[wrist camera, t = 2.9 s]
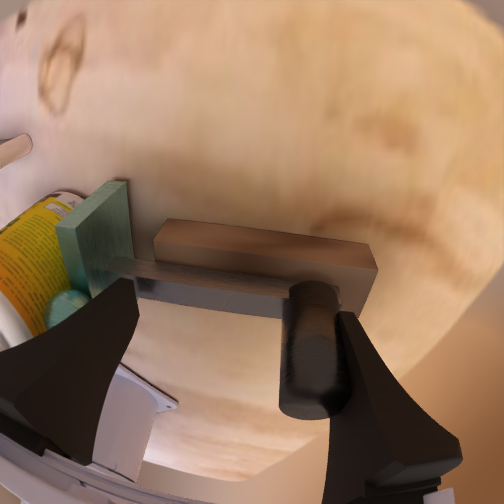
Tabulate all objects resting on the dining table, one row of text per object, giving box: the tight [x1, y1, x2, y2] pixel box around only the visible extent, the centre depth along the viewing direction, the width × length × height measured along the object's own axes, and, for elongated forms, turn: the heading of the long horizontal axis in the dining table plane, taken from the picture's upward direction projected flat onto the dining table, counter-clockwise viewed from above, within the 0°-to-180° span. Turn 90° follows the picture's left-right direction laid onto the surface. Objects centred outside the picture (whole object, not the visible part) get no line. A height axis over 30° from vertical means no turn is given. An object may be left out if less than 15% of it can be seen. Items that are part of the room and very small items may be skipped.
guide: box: [153, 218, 378, 318], centre depth 15 cm, size 10×3×2 cm, turn 84°
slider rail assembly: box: [44, 181, 352, 420], centre depth 12 cm, size 12×7×8 cm, turn 84°
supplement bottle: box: [0, 192, 84, 352], centre depth 12 cm, size 6×6×10 cm
